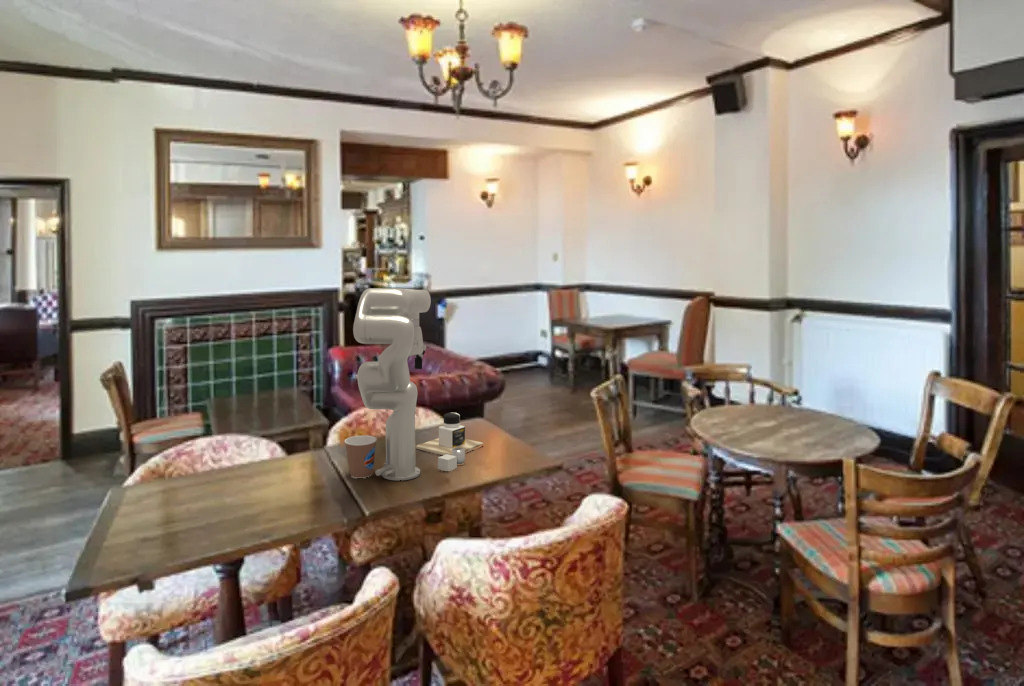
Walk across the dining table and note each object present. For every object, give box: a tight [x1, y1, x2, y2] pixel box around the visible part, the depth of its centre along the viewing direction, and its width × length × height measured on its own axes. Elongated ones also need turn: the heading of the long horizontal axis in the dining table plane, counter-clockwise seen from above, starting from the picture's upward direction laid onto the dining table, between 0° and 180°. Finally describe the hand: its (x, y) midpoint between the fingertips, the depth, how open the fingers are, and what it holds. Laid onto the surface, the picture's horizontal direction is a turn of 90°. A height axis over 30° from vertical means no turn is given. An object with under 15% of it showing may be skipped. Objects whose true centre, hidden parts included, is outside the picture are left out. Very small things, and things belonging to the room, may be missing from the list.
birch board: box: [415, 437, 485, 455], centre depth 240 cm, size 18×18×2 cm
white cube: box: [437, 454, 458, 472], centre depth 216 cm, size 4×4×4 cm
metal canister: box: [452, 448, 466, 464], centre depth 222 cm, size 4×4×5 cm
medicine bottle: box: [438, 412, 466, 449], centre depth 238 cm, size 7×7×12 cm
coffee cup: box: [344, 435, 378, 479], centre depth 209 cm, size 10×10×12 cm
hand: (409, 370), depth 231 cm, fingers open, 9 cm apart
